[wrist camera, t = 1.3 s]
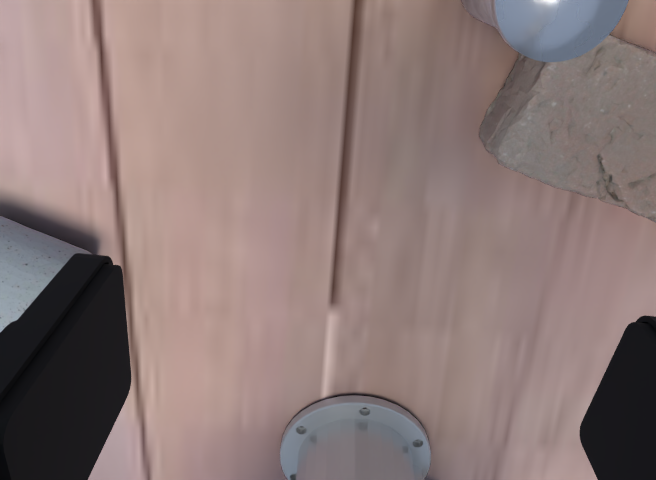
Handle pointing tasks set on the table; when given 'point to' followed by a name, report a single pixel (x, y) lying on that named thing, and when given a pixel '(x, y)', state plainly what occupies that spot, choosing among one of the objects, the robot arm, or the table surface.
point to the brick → (582, 124)
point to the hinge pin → (549, 24)
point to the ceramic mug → (27, 266)
